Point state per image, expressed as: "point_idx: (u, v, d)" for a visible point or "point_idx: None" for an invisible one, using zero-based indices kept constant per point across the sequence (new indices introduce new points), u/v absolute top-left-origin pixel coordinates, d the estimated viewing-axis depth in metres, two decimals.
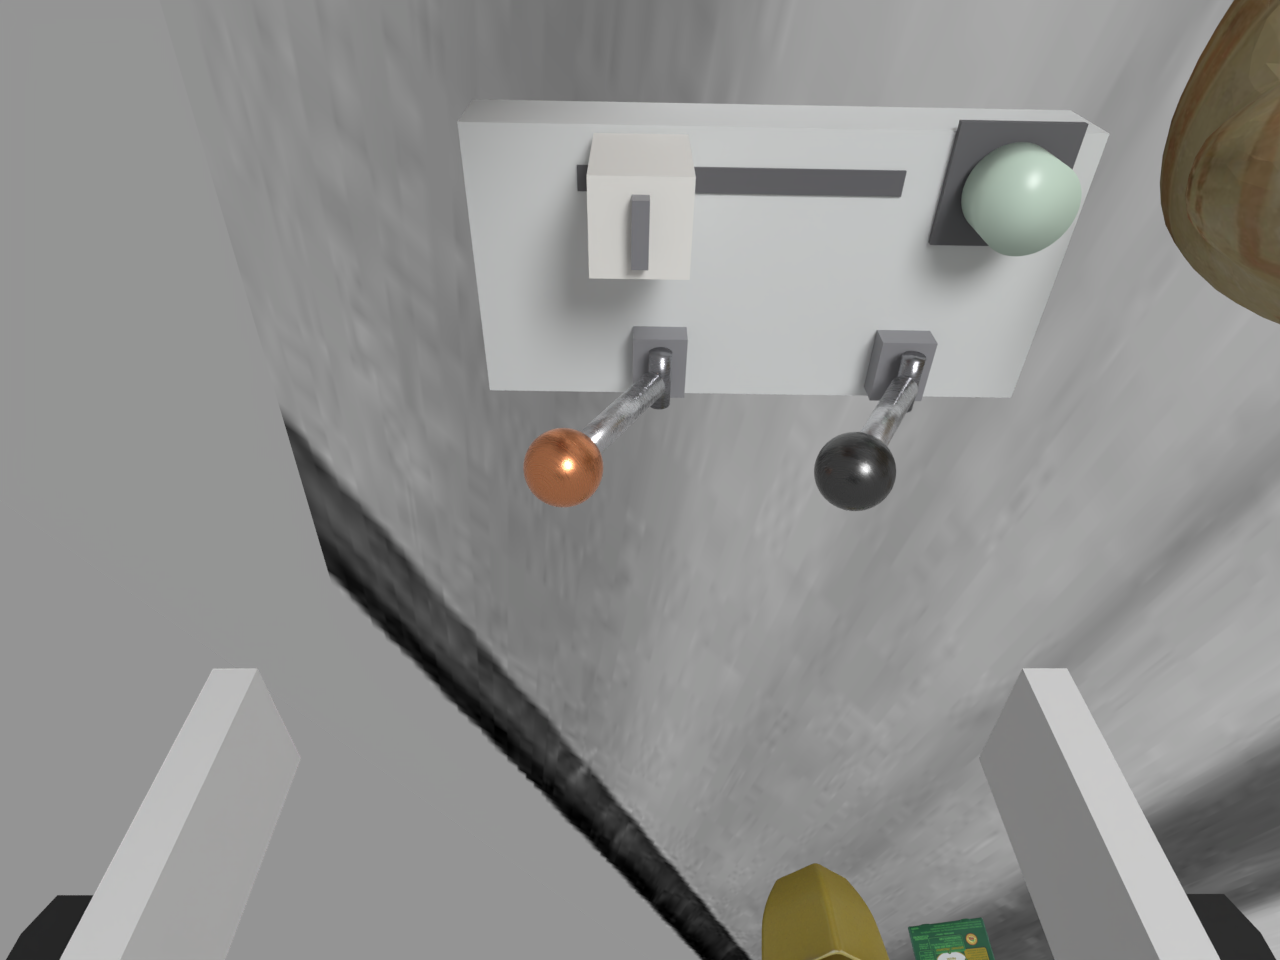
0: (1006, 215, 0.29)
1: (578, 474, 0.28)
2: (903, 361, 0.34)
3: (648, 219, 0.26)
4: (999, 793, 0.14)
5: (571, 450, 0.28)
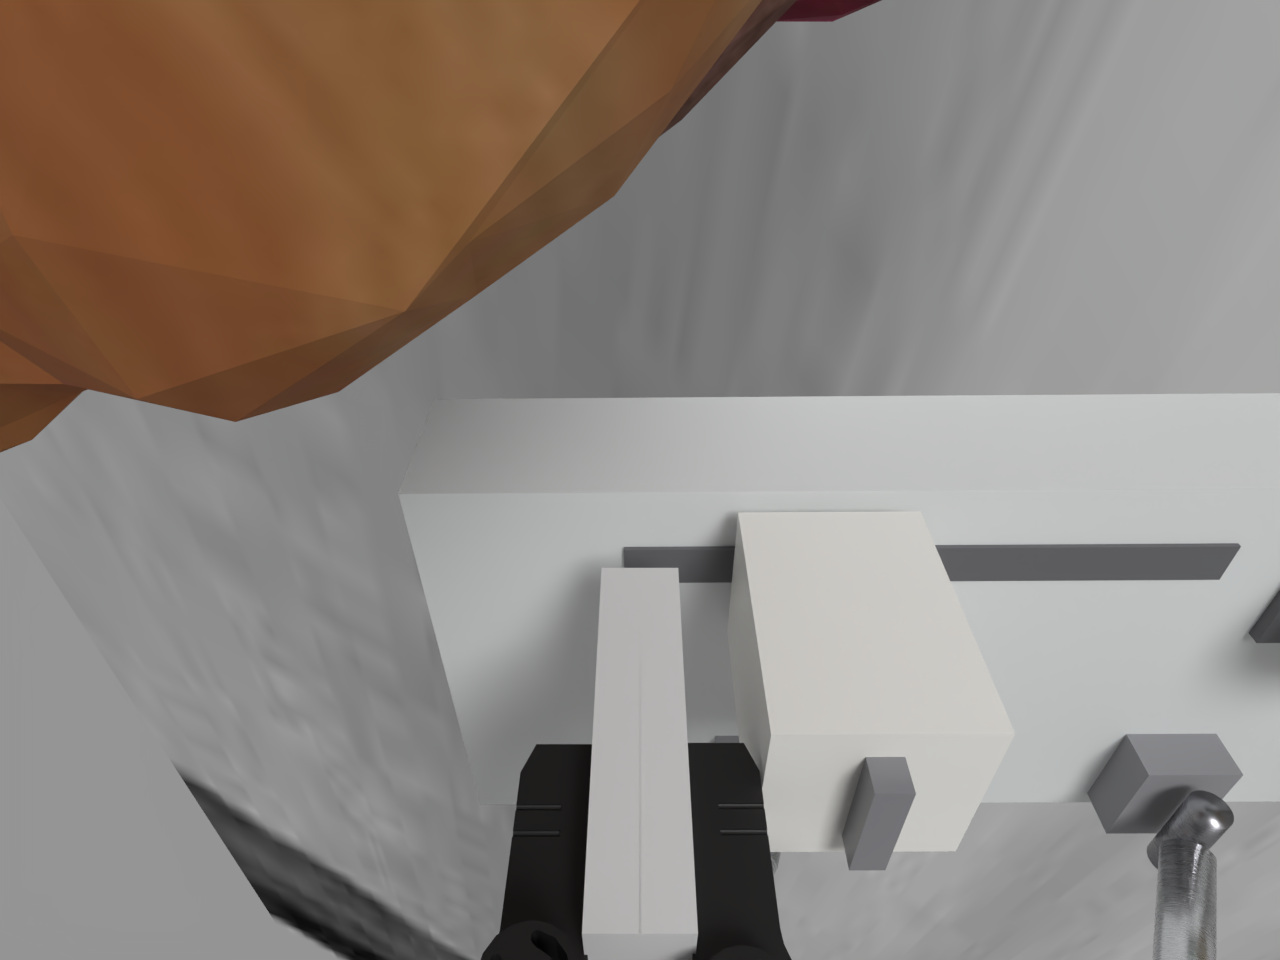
0: None
1: None
2: (1191, 818, 0.19)
3: (905, 815, 0.12)
4: None
5: None
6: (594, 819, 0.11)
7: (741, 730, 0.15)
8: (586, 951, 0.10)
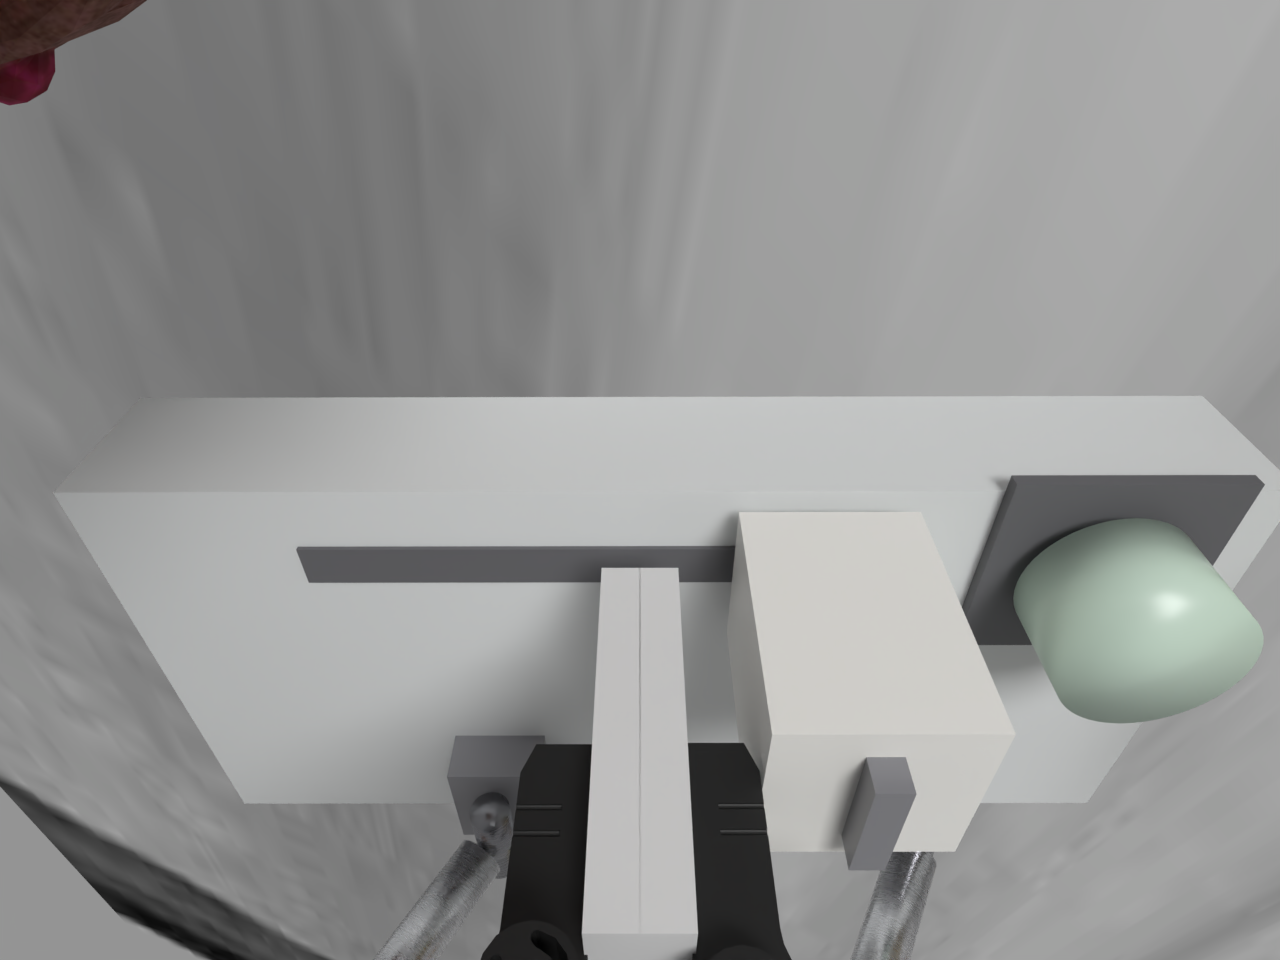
0: (1109, 674, 0.15)
1: None
2: None
3: (905, 816, 0.12)
4: None
5: None
6: (594, 819, 0.11)
7: (741, 730, 0.15)
8: (586, 951, 0.10)
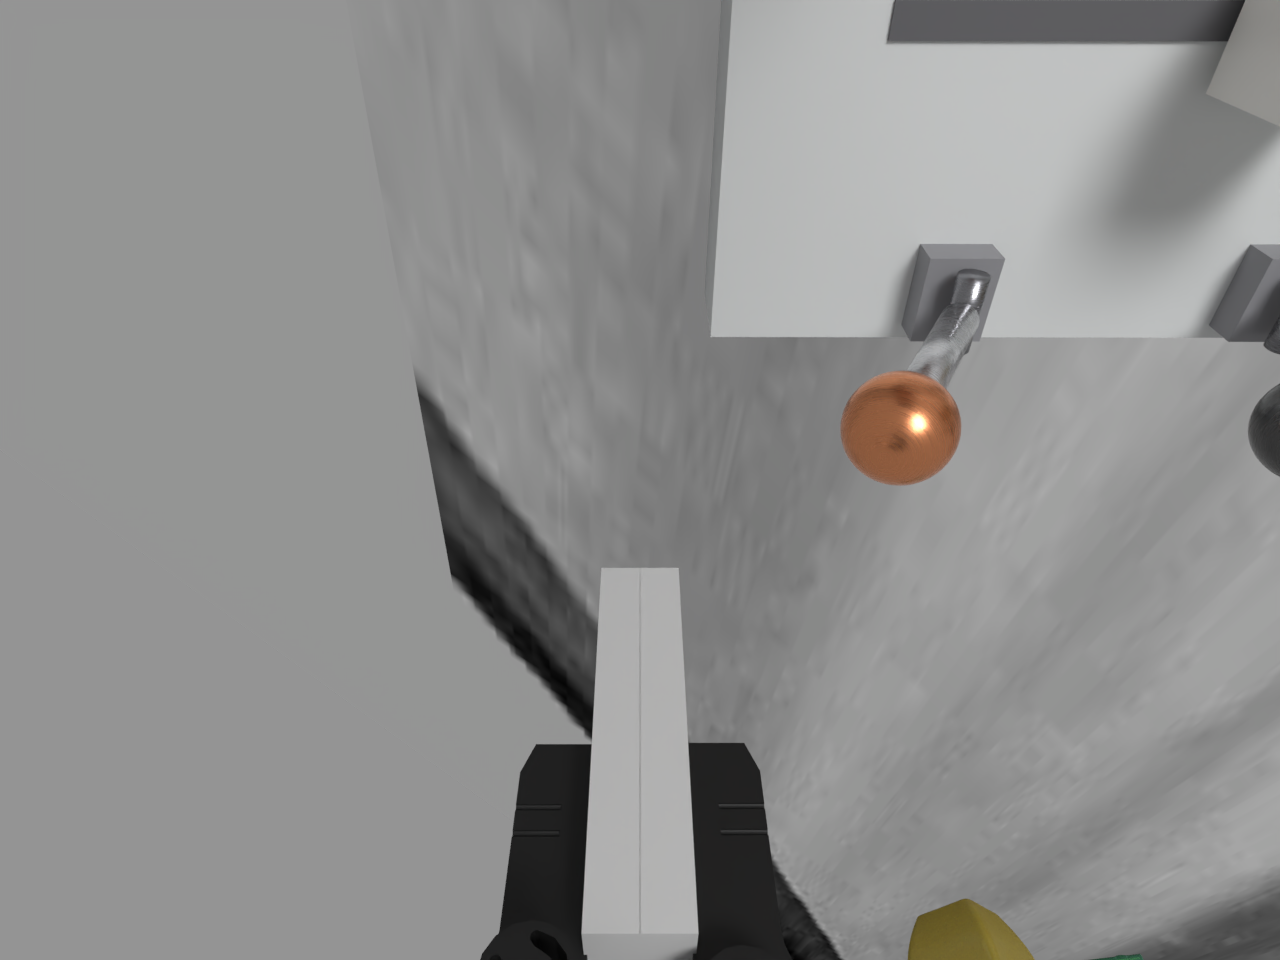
0: None
1: (943, 435, 0.19)
2: None
3: None
4: None
5: (933, 400, 0.19)
6: (594, 819, 0.11)
7: (1277, 100, 0.20)
8: (586, 951, 0.10)
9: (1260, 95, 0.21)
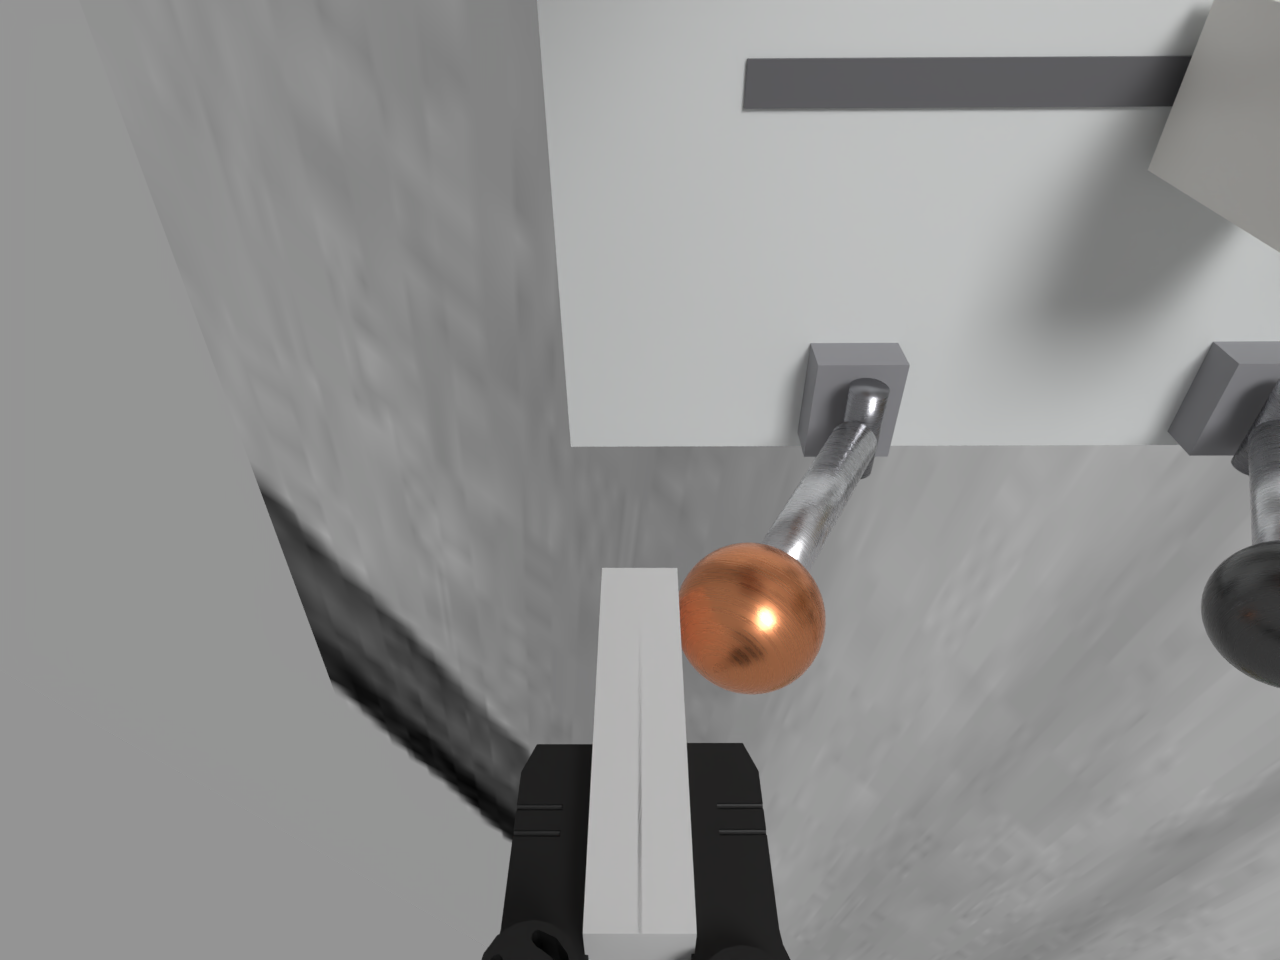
0: None
1: (795, 643, 0.14)
2: None
3: None
4: None
5: (780, 596, 0.14)
6: (595, 819, 0.11)
7: (1231, 189, 0.16)
8: (587, 951, 0.10)
9: (1210, 180, 0.16)
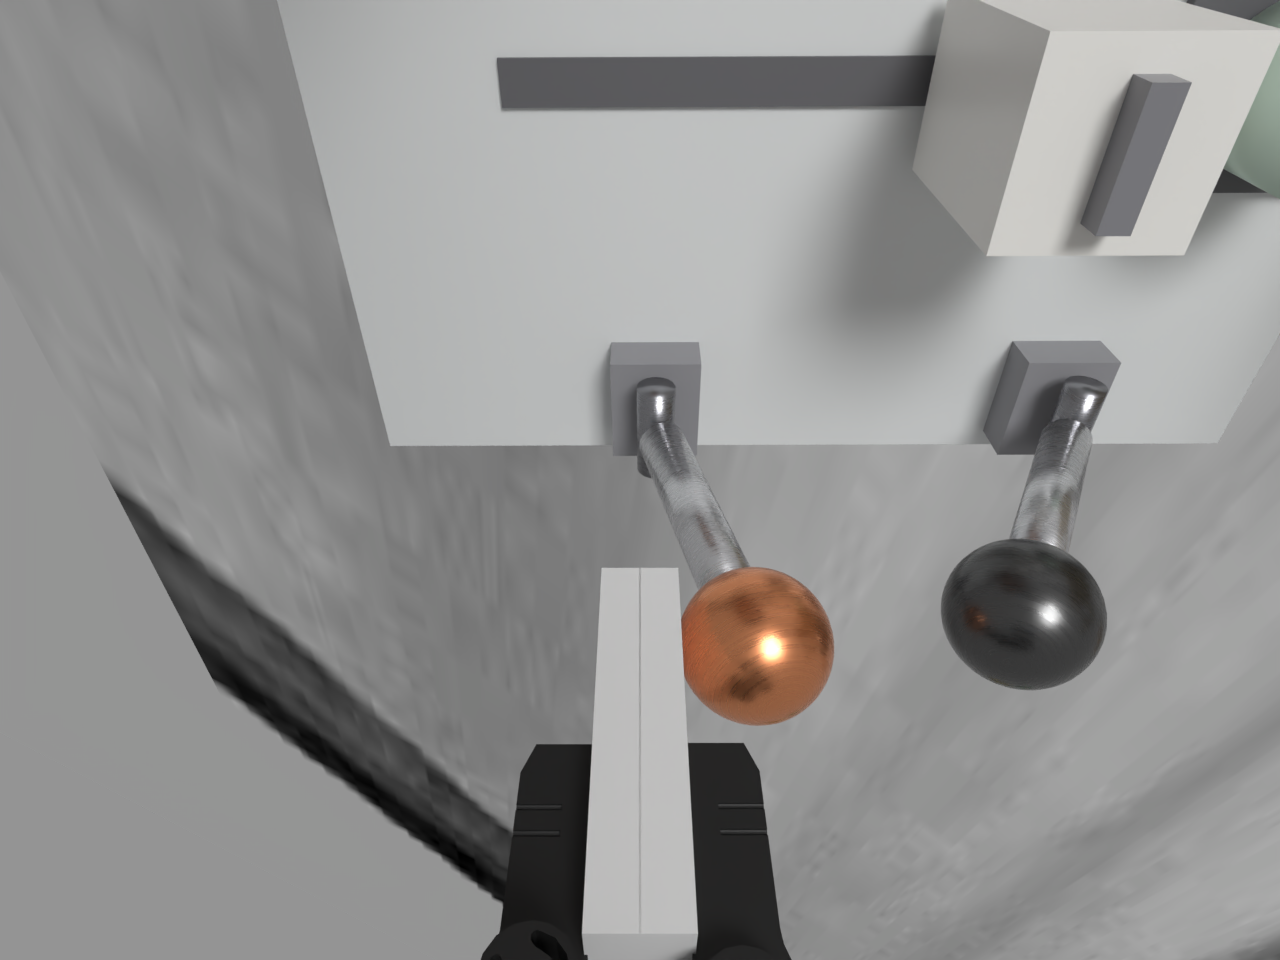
0: None
1: (830, 639, 0.14)
2: (1067, 395, 0.20)
3: (1173, 125, 0.12)
4: None
5: (802, 606, 0.14)
6: (594, 819, 0.11)
7: (956, 188, 0.16)
8: (586, 951, 0.10)
9: (945, 180, 0.16)
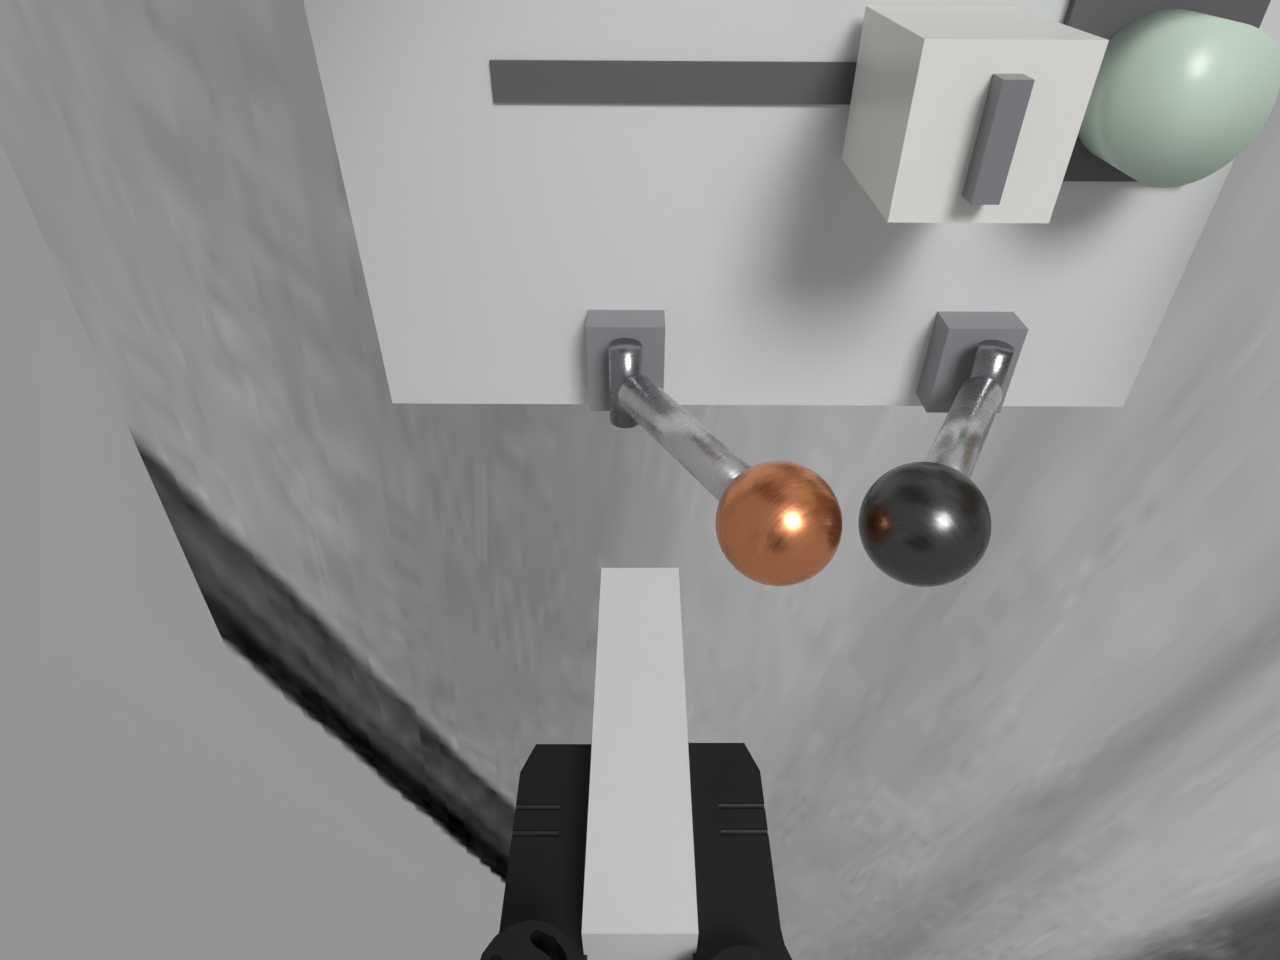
0: (1157, 118, 0.18)
1: (838, 504, 0.18)
2: (980, 355, 0.23)
3: (1023, 113, 0.15)
4: None
5: (817, 480, 0.18)
6: (594, 819, 0.11)
7: (869, 170, 0.19)
8: (586, 951, 0.10)
9: (863, 164, 0.19)
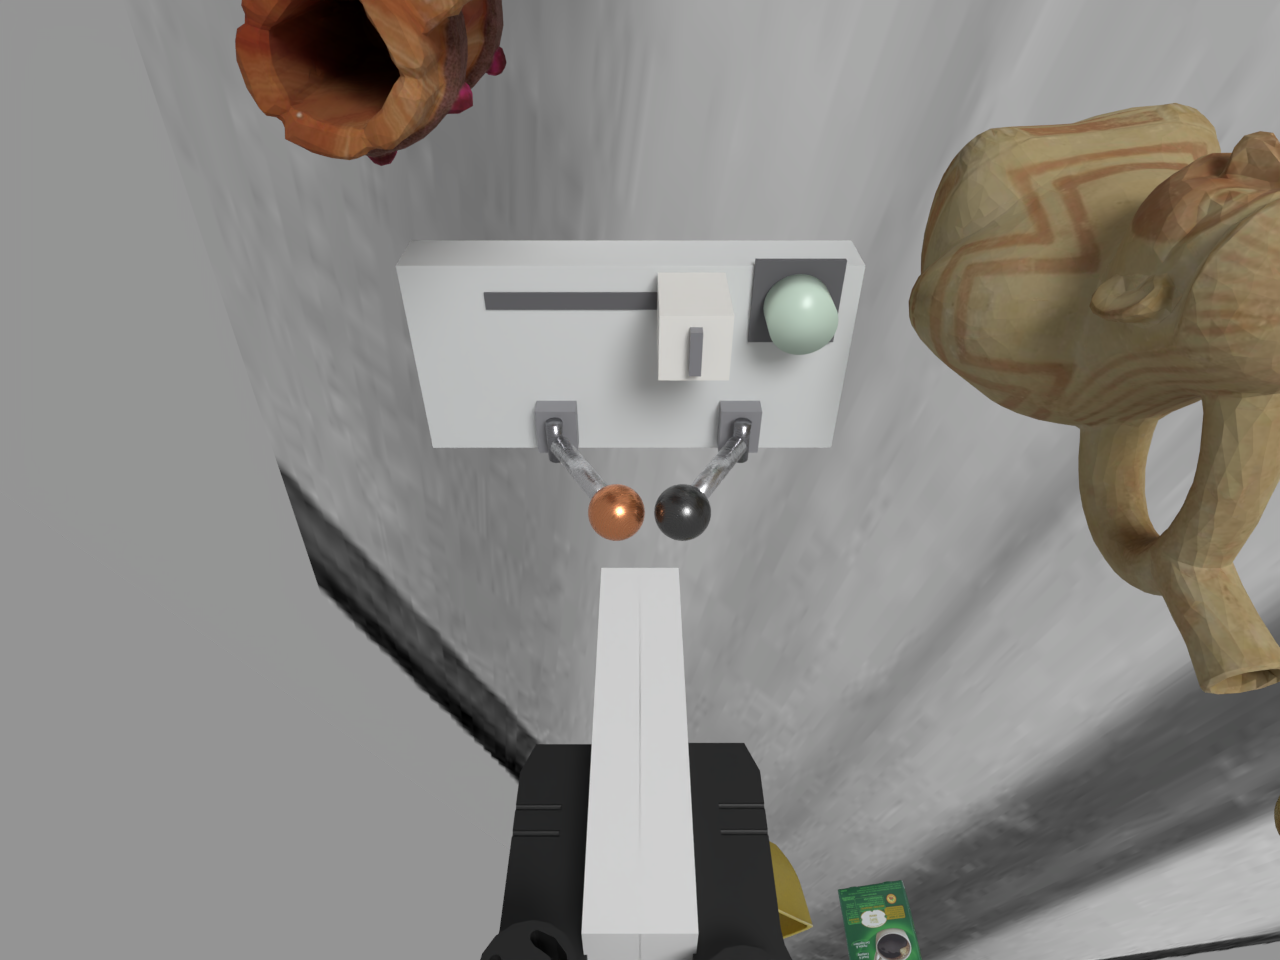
0: (787, 328, 0.41)
1: (642, 503, 0.41)
2: (734, 426, 0.45)
3: (702, 344, 0.38)
4: None
5: (630, 493, 0.40)
6: (593, 819, 0.11)
7: None
8: (585, 951, 0.10)
9: (657, 345, 0.41)
